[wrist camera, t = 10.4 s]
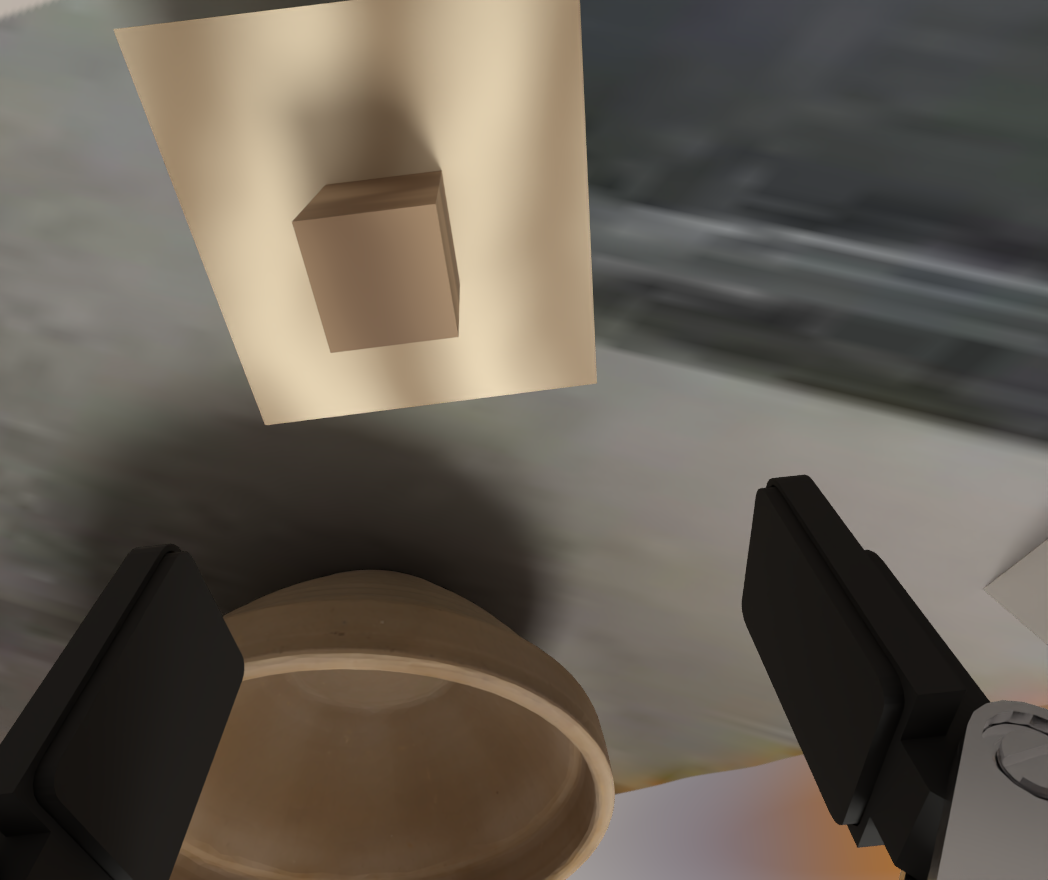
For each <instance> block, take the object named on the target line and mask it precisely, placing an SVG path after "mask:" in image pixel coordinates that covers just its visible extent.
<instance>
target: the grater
mask: <svg viewBox="0 0 1048 880" xmlns="http://www.w3.org/2000/svg"><path fill="white" fill-rule="evenodd" d="M983 590H984V591H985V592H986V593H987V594H989V595H990V596H991V597H992V598H993V599H994V600H996V601H997V602H998V603H999V604H1000V605H1001V606H1003V607H1004V608H1005V609H1006V610H1007V611H1008V612H1010V613H1011V614H1012V615H1013V616H1014V617H1015V618H1017V619H1018V620H1019V621H1020V622H1021V623H1022V624H1024V625H1025V626H1026V627H1027V628H1028V629H1029V630H1031V631H1032V632H1033V633H1034V634H1035V635H1036V636H1038V637H1039V638H1040V639H1041V640H1042V641H1043V642H1045V643H1046V644H1047V645H1048V539H1047V540H1046V541H1045V542H1043V543H1042V544H1041V545H1039V546H1038V547H1037V548H1036V549H1034V550H1033V551H1032V552H1030V553H1029V554H1028V555H1026V556H1025V557H1024V558H1023V559H1021V560H1020V561H1019V562H1017V563H1016V564H1015V565H1014V566H1012V567H1011V568H1010V569H1008V570H1007V571H1006V572H1005V573H1003V574H1002V575H1001V576H999V577H998V578H997V579H995V580H994V581H993V582H992V583H990V584H989V585H988V586H986V587H985V588H984V589H983Z"/></svg>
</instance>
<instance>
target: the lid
mask: <svg viewBox="0 0 1048 880" xmlns="http://www.w3.org/2000/svg"><path fill="white" fill-rule="evenodd" d="M113 30H114V32H115V35H116V38H117V40H118V43H119V45H120V48H121V51H122V53H123V56H124V58H125V61H126V64H127V66H128V69H129V71H130V74H131V77H132V79H133V82H134V84H135V87H136V90H137V92H138V95H139V97H140V100H141V103H142V105H143V108H144V111H145V113H146V116H147V118H148V121H149V124H150V126H151V129H152V131H153V134H154V137H155V139H156V142H157V144H158V147H159V150H160V152H161V155H162V157H163V160H164V163H165V165H166V168H167V170H168V173H169V176H170V178H171V181H172V184H173V186H174V189H175V191H176V194H177V197H178V199H179V202H180V204H181V207H182V210H183V212H184V215H185V217H186V220H187V223H188V225H189V228H190V230H191V233H192V236H193V238H194V241H195V243H196V246H197V249H198V251H199V254H200V257H201V259H202V262H203V264H204V267H205V270H206V272H207V275H208V277H209V280H210V283H211V285H212V288H213V290H214V293H215V296H216V298H217V301H218V303H219V306H220V309H221V311H222V314H223V316H224V319H225V322H226V324H227V327H228V330H229V332H230V335H231V337H232V340H233V343H234V345H235V348H236V350H237V353H238V356H239V358H240V361H241V363H242V366H243V369H244V371H245V374H246V376H247V379H248V382H249V384H250V387H251V389H252V392H253V395H254V397H255V400H256V402H257V405H258V408H259V410H260V413H261V416H262V418H263V421H264V423H265V425H272V424H280V423H288V422H296V421H304V420H312V419H319V418H327V417H335V416H343V415H351V414H359V413H367V412H375V411H383V410H390V409H398V408H406V407H414V406H422V405H430V404H438V403H446V402H454V401H462V400H469V399H477V398H485V397H493V396H501V395H509V394H517V393H525V392H533V391H540V390H548V389H556V388H564V387H572V386H580V385H588V384H596V383H597V377H596V354H595V332H594V310H593V287H592V265H591V242H590V220H589V198H588V175H587V153H586V130H585V108H584V86H583V63H582V41H581V19H580V0H350V1H342V2H334V3H325V4H317V5H309V6H301V7H293V8H284V9H276V10H268V11H260V12H252V13H243V14H235V15H227V16H219V17H211V18H202V19H194V20H186V21H178V22H170V23H161V24H153V25H145V26H137V27H129V28H120V29H113Z"/></svg>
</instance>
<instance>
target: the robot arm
mask: <svg viewBox="0 0 1048 880" xmlns="http://www.w3.org/2000/svg"><path fill="white" fill-rule="evenodd" d="M742 612H743V617H744V621H745V623H746V626H747V628H748V630H749V633H750V635H751V637H752V639H753V642H754V644H755V646H756V648H757V651H758V653H759V655H760V657H761V660H762V662H763V664H764V666H765V669H766V671H767V673H768V675H769V678H770V680H771V682H772V684H773V687H774V689H775V691H776V693H777V696H778V698H779V700H780V702H781V705H782V707H783V709H784V711H785V714H786V716H787V718H788V720H789V723H790V725H791V727H792V729H793V731H794V734H795V736H796V738H797V740H798V743H799V745H800V747H801V749H802V752H803V754H804V756H805V758H806V760H807V763H808V765H809V767H810V770H811V772H812V774H813V776H814V779H815V781H816V783H817V785H818V787H819V790H820V792H821V794H822V797H823V799H824V801H825V803H826V806H827V808H828V810H829V812H830V814H831V816H832V818H833V819H834V821H835V822H836V823H837V824H839V825H846V824H847V826H848V828H849V830H850V832H851V835H852V837H853V839H854V841H855V843H856V845H857V847H858V848H859V847H868V846H877V845H885V847H886V849H887V851H888V853H889V855H890V857H891V859H892V861H893V863H894V865H895V866H896V867H898V868H900V869H901V873H900V878H899V880H1048V710H1047V709H1045V708H1041V707H1038V706H1035V705H1032V704H1028V703H1025V702H1018V701H1006V700H1001V701H996V702H991V703H990V701H989V700H988V699H987V697H986V696H985V695H984V693H983V692H982V691H981V689H980V688H979V687H978V685H977V684H976V683H975V682H974V680H973V679H972V678H971V676H970V675H969V674H968V672H967V671H966V670H965V668H964V667H963V666H962V664H961V663H960V662H959V660H958V659H957V658H956V656H955V655H954V654H953V652H952V651H951V650H950V649H949V647H948V646H947V645H946V643H945V642H944V641H943V639H942V638H941V637H940V635H939V634H938V633H937V631H936V630H935V629H934V627H933V626H932V625H931V623H930V622H929V621H928V619H927V618H926V617H925V616H924V614H923V613H922V612H921V610H920V609H919V608H918V606H917V605H916V604H915V602H914V601H913V600H912V598H911V597H910V596H909V594H908V593H907V592H906V590H905V589H904V588H903V586H902V585H901V584H900V583H899V581H898V580H897V579H896V577H895V576H894V575H893V573H892V572H891V571H890V569H889V568H888V567H887V565H886V564H885V563H884V561H883V560H882V559H881V558H880V557H879V556H878V555H877V554H876V553H874V552H872V551H870V550H864V549H863V548H862V547H861V545H860V544H859V543H858V541H857V540H856V538H855V537H854V536H853V534H852V533H851V532H850V530H849V529H848V528H847V526H846V525H845V523H844V522H843V521H842V519H841V518H840V517H839V515H838V514H837V513H836V511H835V510H834V509H833V507H832V506H831V504H830V503H829V502H828V500H827V499H826V498H825V496H824V495H823V494H822V492H821V491H820V490H819V488H818V487H817V485H816V484H815V483H814V481H813V480H812V479H811V478H810V477H809V476H807V475H797V476H788V477H779V478H772V479H769V481H768V483H767V486H766V488H760V489H758V491H757V494H756V499H755V507H754V514H753V522H752V529H751V537H750V544H749V552H748V559H747V567H746V574H745V582H744V589H743V596H742ZM243 676H244V659H243V656H242V654H241V652H240V650H239V648H238V646H237V644H236V642H235V640H234V638H233V636H232V634H231V632H230V630H229V628H228V626H227V624H226V622H225V621H224V619H223V617H222V615H221V613H220V611H219V609H218V607H217V605H216V603H215V601H214V599H213V597H212V595H211V593H210V591H209V589H208V587H207V585H206V584H205V582H204V580H203V578H202V576H201V574H200V572H199V570H198V568H197V566H196V564H195V562H194V560H193V558H192V557H191V555H190V554H189V553H188V552H184V551H183V552H182V551H181V550H180V549H179V547H177V546H176V545H174V544H165V545H156V546H147V547H138V548H135V549H133V550H132V551H131V552H130V553H129V554H128V555H127V557H126V558H125V560H124V561H123V563H122V564H121V566H120V567H119V569H118V570H117V572H116V573H115V575H114V576H113V578H112V579H111V581H110V582H109V584H108V585H107V586H106V588H105V589H104V591H103V592H102V594H101V595H100V597H99V598H98V600H97V601H96V603H95V604H94V606H93V607H92V609H91V610H90V612H89V613H88V615H87V616H86V618H85V619H84V621H83V622H82V624H81V625H80V627H79V628H78V630H77V631H76V633H75V634H74V636H73V637H72V639H71V640H70V641H69V643H68V644H67V646H66V647H65V649H64V650H63V652H62V653H61V655H60V656H59V658H58V659H57V661H56V662H55V664H54V665H53V667H52V668H51V670H50V671H49V673H48V674H47V676H46V677H45V679H44V680H43V682H42V683H41V685H40V686H39V688H38V689H37V691H36V692H35V694H34V695H33V697H32V698H31V699H30V701H29V702H28V704H27V705H26V707H25V708H24V710H23V711H22V713H21V714H20V716H19V717H18V719H17V720H16V722H15V723H14V725H13V726H12V728H11V729H10V731H9V732H8V734H7V735H6V737H5V738H4V740H3V741H2V743H1V744H0V880H169V879H170V876H171V873H172V871H173V868H174V865H175V862H176V860H177V857H178V854H179V852H180V849H181V846H182V843H183V841H184V838H185V835H186V833H187V830H188V827H189V824H190V822H191V819H192V816H193V813H194V811H195V808H196V805H197V803H198V800H199V797H200V794H201V792H202V789H203V786H204V783H205V781H206V778H207V775H208V773H209V770H210V767H211V764H212V762H213V759H214V756H215V753H216V751H217V748H218V745H219V743H220V740H221V737H222V734H223V732H224V729H225V726H226V723H227V721H228V718H229V715H230V713H231V710H232V707H233V704H234V702H235V699H236V696H237V693H238V691H239V688H240V685H241V683H242V680H243Z"/></svg>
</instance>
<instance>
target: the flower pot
mask: <svg viewBox="0 0 1048 880" xmlns="http://www.w3.org/2000/svg"><path fill="white" fill-rule="evenodd" d="M223 619H224V621H225V622H226V624H227V626H228V628H229V630H230V632H231V634H232V636H233V638H234V640H235V642H236V644H237V646H238V648H239V650H240V652H241V654H242V656H243V659H244V676H243V680H242V683H241V685H240V688H239V691H238V693H237V696H236V699H235V702H234V704H233V707H232V710H231V713H230V715H229V718H228V721H227V723H226V726H225V729H224V732H223V734H222V737H221V740H220V743H219V745H218V748H217V751H216V753H215V756H214V759H213V762H212V764H211V767H210V770H209V773H208V775H207V778H206V781H205V783H204V786H203V789H202V792H201V794H200V797H199V800H198V803H197V805H196V808H195V811H194V813H193V816H192V819H191V822H190V824H189V827H188V830H187V833H186V835H185V838H184V841H183V843H182V846H181V849H180V852H179V854H178V857H177V860H176V862H175V865H174V868H173V871H172V873H171V876H170V879H169V880H566V879H567V878H568V877H569V876H570V875H572V874H573V873H574V872H575V871H576V870H577V869H578V868H579V867H580V866H581V865H582V864H583V863H584V862H585V861H586V860H587V859H588V858H589V857H590V855H591V854H592V853H593V852H594V850H595V849H596V848H597V846H598V845H599V843H600V841H601V840H602V838H603V836H604V834H605V832H606V830H607V828H608V826H609V823H610V820H611V817H612V813H613V808H614V800H615V799H614V798H615V792H614V782H613V776H612V770H611V765H610V760H609V756H608V752H607V748H606V743H605V740H604V736H603V733H602V730H601V726H600V723H599V719H598V716H597V714H596V712H595V709H594V707H593V705H592V703H591V701H590V699H589V698H588V696H587V694H586V693H585V691H584V690H583V688H582V687H581V686H580V684H579V683H578V682H577V681H576V680H575V678H574V677H573V676H572V675H571V674H570V673H569V672H568V671H567V670H566V669H565V668H564V667H563V666H562V665H561V664H559V663H558V662H557V661H556V660H555V659H553V658H552V657H551V656H549V655H548V654H547V653H545V652H544V651H542V650H541V649H540V648H538V647H537V646H535V645H533V644H532V643H530V642H528V641H527V640H525V639H523V638H521V637H520V636H519V635H518V634H516V633H515V632H514V631H513V630H512V629H510V628H509V627H508V626H506V625H505V624H503V623H502V622H500V621H499V620H498V619H496V618H495V617H494V616H492V615H491V614H490V613H488V612H487V611H485V610H483V609H482V608H480V607H479V606H477V605H476V604H474V603H472V602H470V601H468V600H467V599H465V598H463V597H461V596H459V595H457V594H455V593H453V592H451V591H449V590H446V589H444V588H442V587H440V586H437V585H435V584H433V583H431V582H429V581H427V580H424V579H422V578H419V577H416V576H412V575H409V574H404V573H400V572H393V571H386V570H355V571H349V572H342V573H336V574H333V575H330V576H326V577H321V578H316V579H313V580H309V581H305V582H302V583H298V584H295V585H292V586H290V587H287V588H284V589H281V590H278V591H276V592H273V593H271V594H268V595H266V596H263V597H261V598H259V599H257V600H254V601H253V602H251V603H249V604H247V605H245V606H242V607H240V608H238V609H236V610H234V611H232V612H230V613H228V614H226V615H224V616H223Z"/></svg>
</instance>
